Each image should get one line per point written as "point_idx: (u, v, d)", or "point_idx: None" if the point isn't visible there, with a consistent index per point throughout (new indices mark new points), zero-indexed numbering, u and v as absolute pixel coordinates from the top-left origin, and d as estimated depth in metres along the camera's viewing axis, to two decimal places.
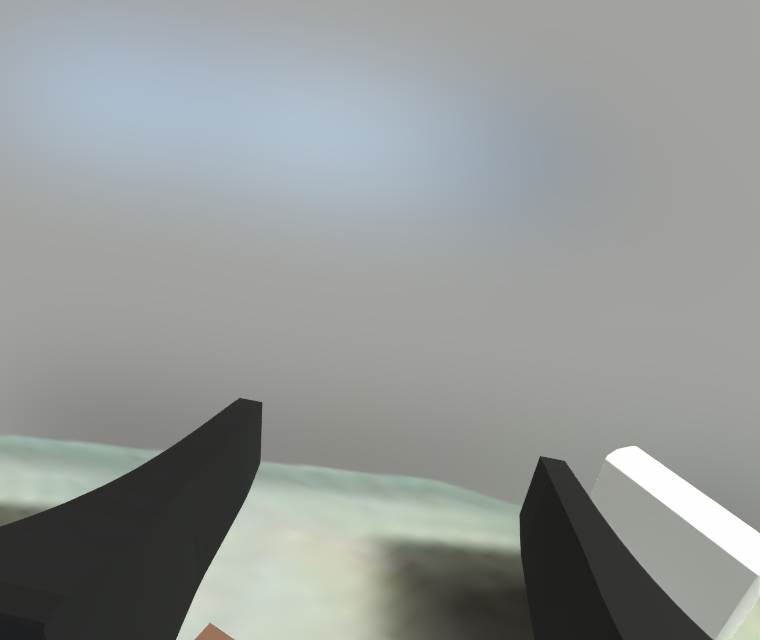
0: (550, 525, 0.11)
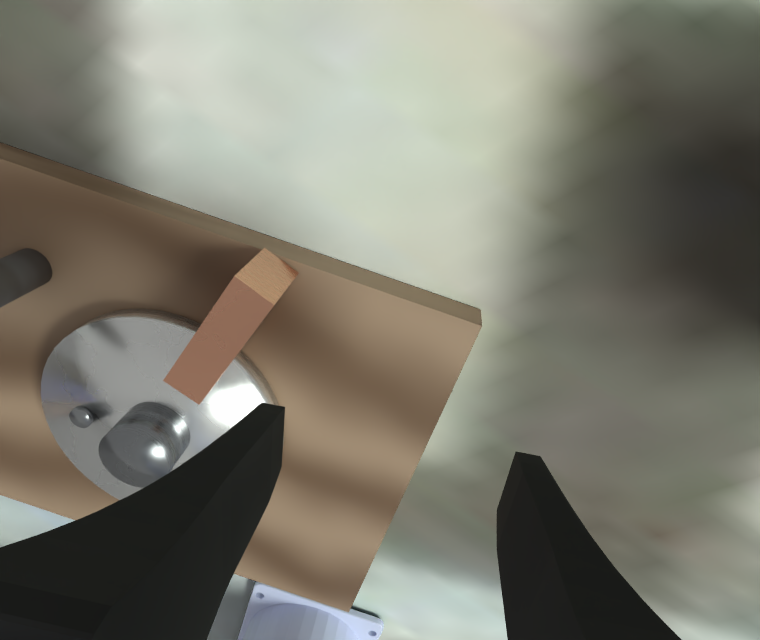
0: (522, 519, 0.11)
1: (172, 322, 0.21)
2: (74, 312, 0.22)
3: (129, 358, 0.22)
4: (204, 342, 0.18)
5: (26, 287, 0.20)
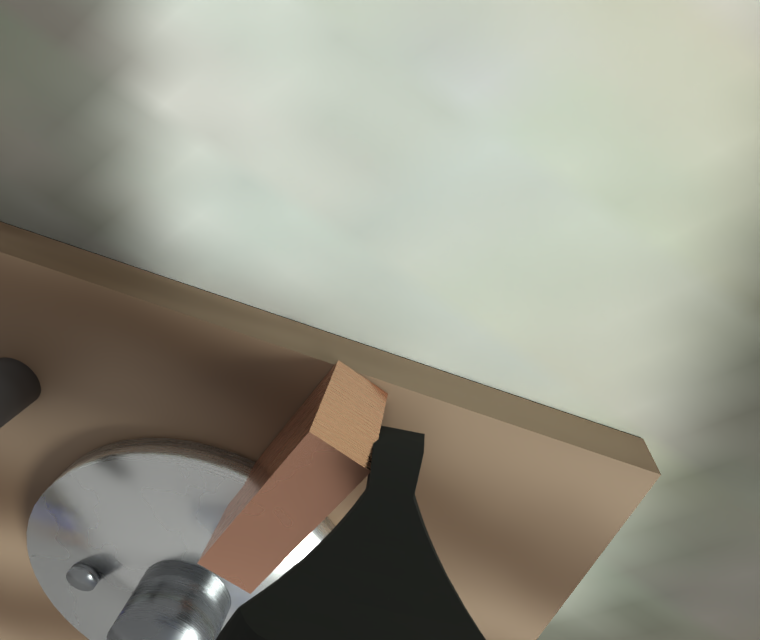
0: None
1: (205, 462, 0.15)
2: (72, 438, 0.16)
3: (146, 508, 0.16)
4: (260, 517, 0.12)
5: (3, 419, 0.14)
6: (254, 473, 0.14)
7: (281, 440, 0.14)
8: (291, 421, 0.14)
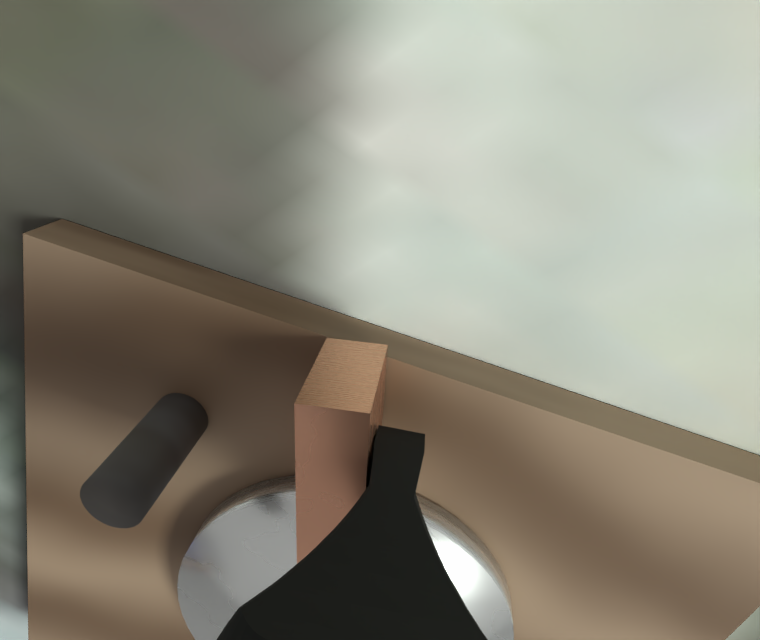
0: None
1: (277, 492, 0.15)
2: (232, 472, 0.16)
3: (257, 558, 0.16)
4: (314, 510, 0.12)
5: (184, 458, 0.14)
6: None
7: None
8: None
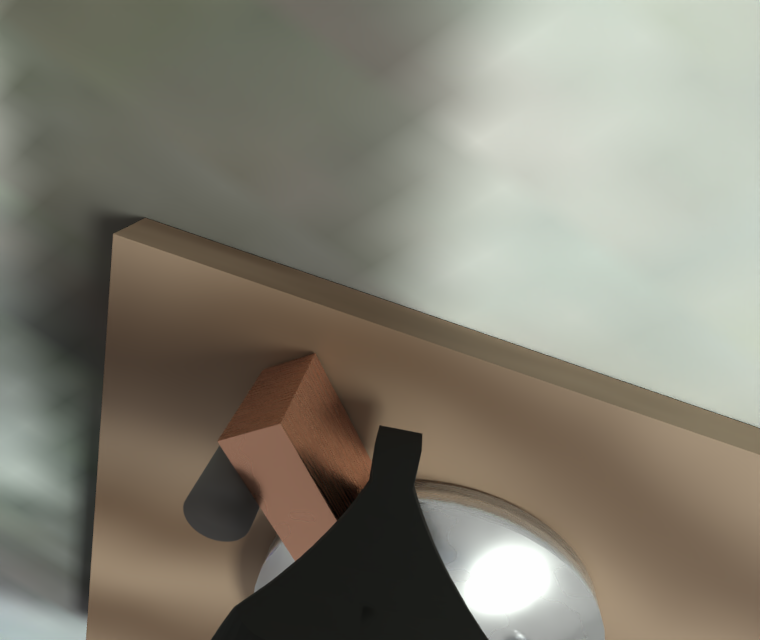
0: None
1: None
2: None
3: None
4: (294, 532, 0.12)
5: None
6: None
7: None
8: None
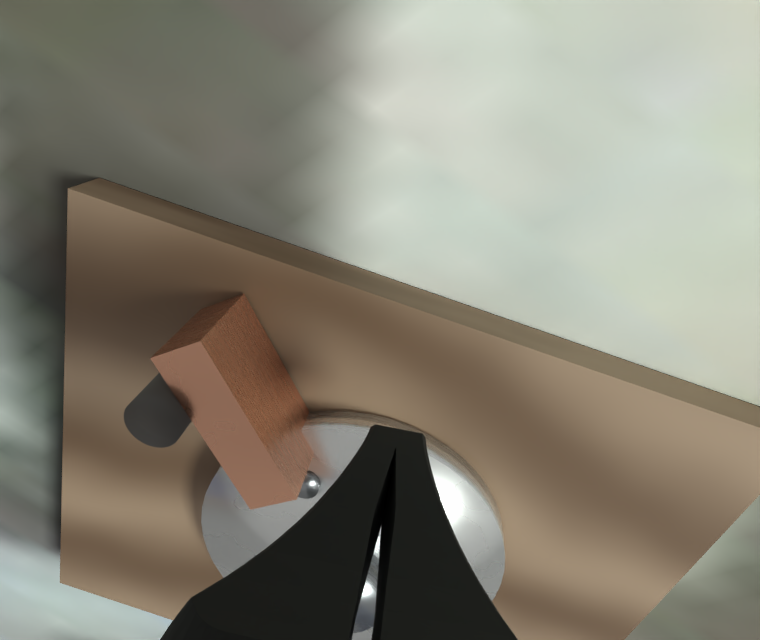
0: (390, 493, 0.11)
1: None
2: None
3: (252, 514, 0.19)
4: (219, 440, 0.14)
5: None
6: None
7: None
8: None
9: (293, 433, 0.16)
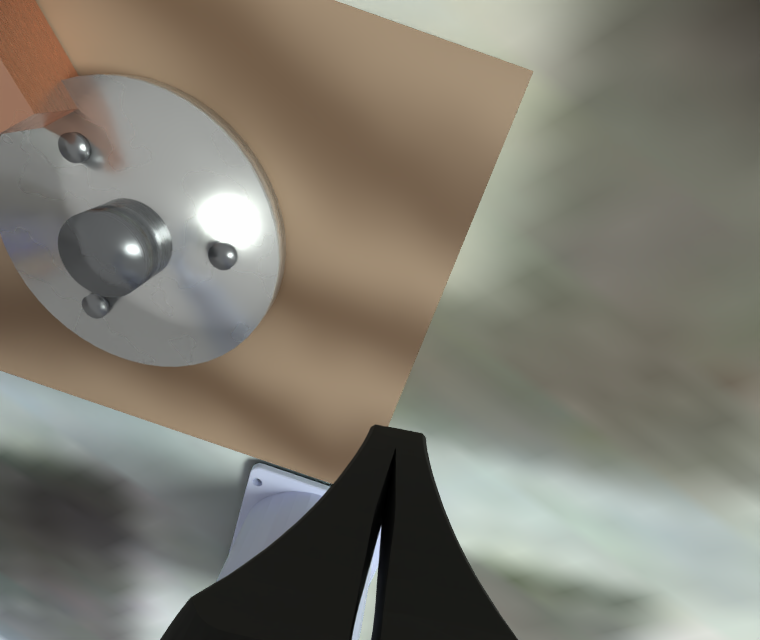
0: (391, 493, 0.11)
1: None
2: None
3: (38, 199, 0.19)
4: None
5: None
6: None
7: None
8: None
9: (46, 71, 0.17)
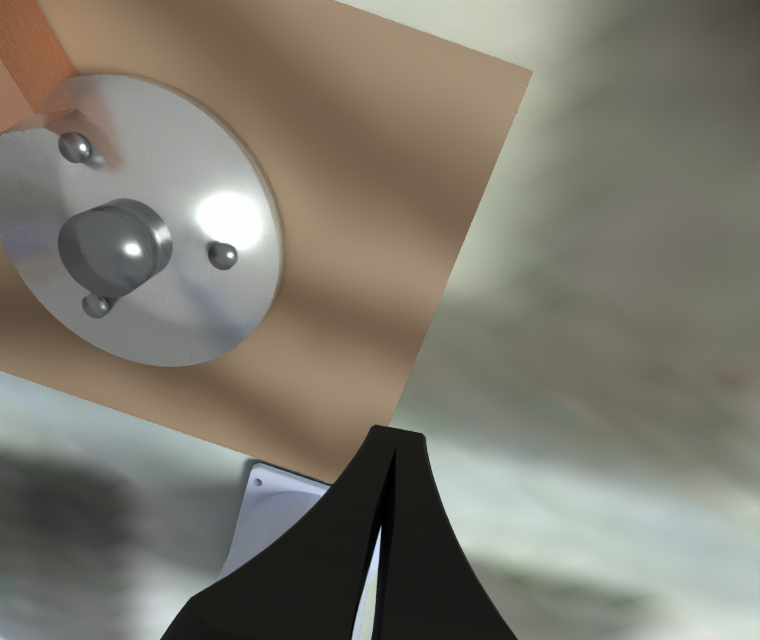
0: (391, 493, 0.11)
1: None
2: None
3: (38, 199, 0.19)
4: None
5: None
6: None
7: None
8: None
9: (46, 71, 0.17)
